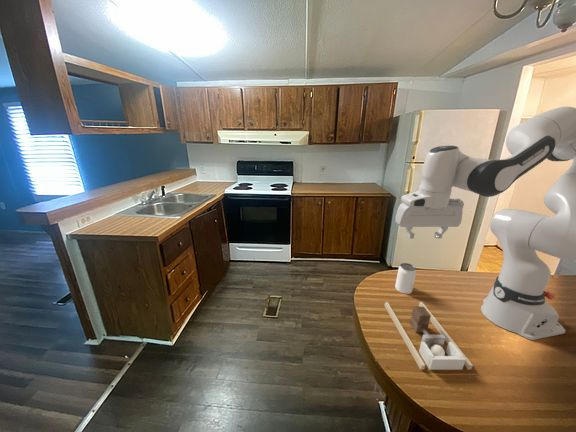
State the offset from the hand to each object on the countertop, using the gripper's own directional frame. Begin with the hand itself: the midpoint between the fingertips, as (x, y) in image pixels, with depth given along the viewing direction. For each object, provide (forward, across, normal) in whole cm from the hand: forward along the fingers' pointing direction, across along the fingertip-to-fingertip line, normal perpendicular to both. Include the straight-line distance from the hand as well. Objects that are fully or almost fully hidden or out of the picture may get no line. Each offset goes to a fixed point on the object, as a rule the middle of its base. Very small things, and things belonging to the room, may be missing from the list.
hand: (423, 237), depth 78 cm
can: (+29, -2, -9) cm, 31 cm away
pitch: (+29, +3, +13) cm, 32 cm away
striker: (+28, +3, +15) cm, 31 cm away
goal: (+28, +3, +23) cm, 37 cm away
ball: (+26, +3, +22) cm, 34 cm away
